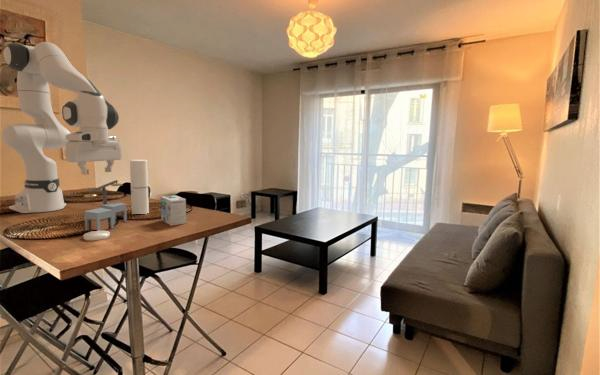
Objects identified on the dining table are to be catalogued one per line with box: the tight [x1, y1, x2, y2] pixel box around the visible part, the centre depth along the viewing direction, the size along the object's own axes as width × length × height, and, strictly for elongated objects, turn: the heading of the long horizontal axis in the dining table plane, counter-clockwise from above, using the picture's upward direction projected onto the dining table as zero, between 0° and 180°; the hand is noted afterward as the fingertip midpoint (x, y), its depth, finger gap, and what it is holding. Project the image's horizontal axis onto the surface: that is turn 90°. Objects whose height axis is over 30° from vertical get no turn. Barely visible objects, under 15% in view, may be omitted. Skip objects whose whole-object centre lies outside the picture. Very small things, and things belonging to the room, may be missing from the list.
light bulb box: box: [160, 194, 187, 226], centre depth 134 cm, size 11×7×11 cm, turn 45°
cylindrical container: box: [129, 159, 150, 215], centre depth 145 cm, size 7×7×25 cm
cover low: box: [84, 207, 115, 231], centre depth 120 cm, size 6×6×8 cm
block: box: [90, 219, 109, 231], centre depth 120 cm, size 4×4×4 cm
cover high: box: [100, 201, 128, 225], centre depth 130 cm, size 6×6×8 cm
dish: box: [82, 230, 111, 242], centre depth 112 cm, size 8×8×1 cm
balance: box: [83, 179, 123, 221], centre depth 134 cm, size 6×17×16 cm, turn 162°
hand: (97, 173), depth 118 cm, fingers open, 8 cm apart
